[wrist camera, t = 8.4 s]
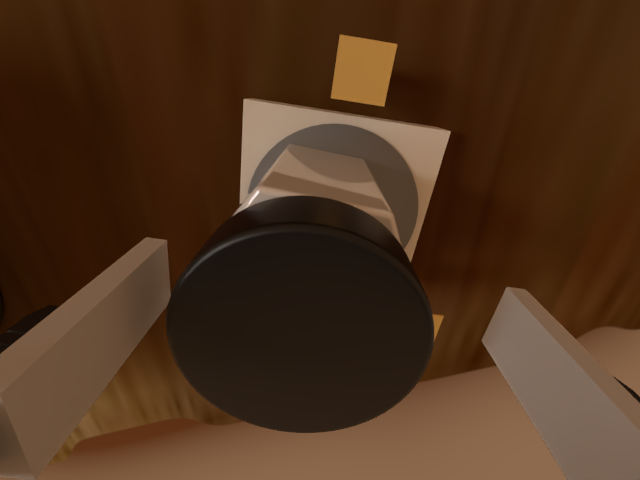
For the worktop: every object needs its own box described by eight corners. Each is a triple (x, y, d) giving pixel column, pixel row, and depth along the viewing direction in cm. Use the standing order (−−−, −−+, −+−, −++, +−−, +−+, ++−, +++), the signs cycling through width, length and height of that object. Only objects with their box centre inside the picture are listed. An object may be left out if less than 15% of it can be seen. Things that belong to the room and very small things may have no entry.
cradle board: (228, 263, 25) (197, 316, 19) (233, 35, 19) (188, 9, 13) (407, 287, 26) (431, 346, 20) (474, 75, 19) (540, 68, 13)
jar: (239, 254, 22) (151, 416, 11) (252, 132, 18) (141, 192, 7) (365, 277, 22) (401, 453, 11) (400, 163, 19) (498, 261, 8)
